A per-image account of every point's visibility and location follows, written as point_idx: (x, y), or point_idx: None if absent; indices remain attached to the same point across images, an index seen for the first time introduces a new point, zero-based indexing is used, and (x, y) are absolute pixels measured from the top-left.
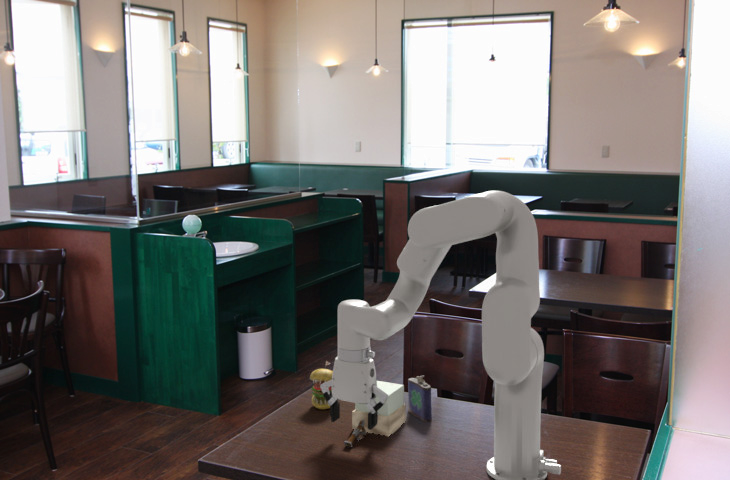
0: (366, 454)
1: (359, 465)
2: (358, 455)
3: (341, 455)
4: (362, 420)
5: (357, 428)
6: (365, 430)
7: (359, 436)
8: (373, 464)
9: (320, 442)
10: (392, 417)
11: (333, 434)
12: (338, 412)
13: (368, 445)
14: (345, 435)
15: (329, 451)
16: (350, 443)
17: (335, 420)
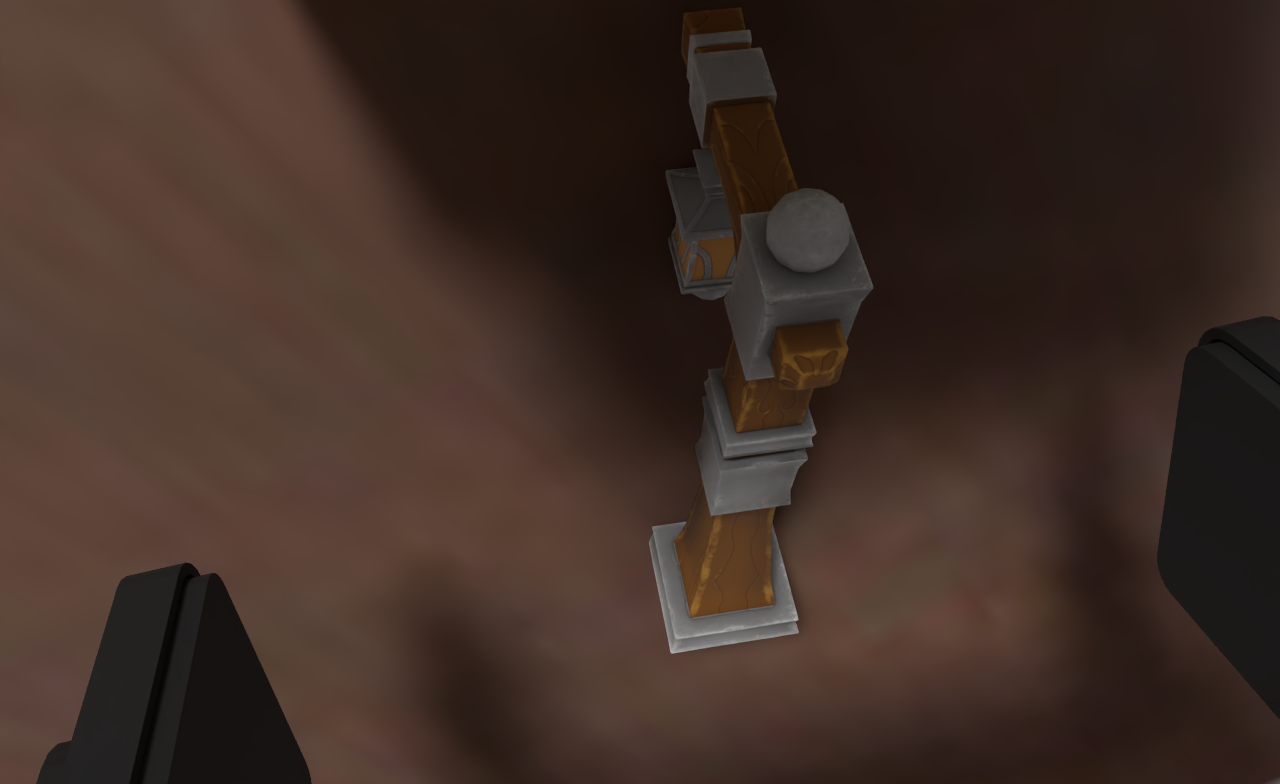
0: (1055, 539)
1: (1088, 758)
2: (965, 614)
3: (761, 727)
4: (806, 271)
5: (768, 424)
6: (771, 95)
7: (718, 258)
8: None
9: None
10: None
11: (101, 323)
12: (214, 746)
13: (957, 310)
14: (335, 224)
15: (546, 744)
16: (790, 615)
17: (292, 738)
